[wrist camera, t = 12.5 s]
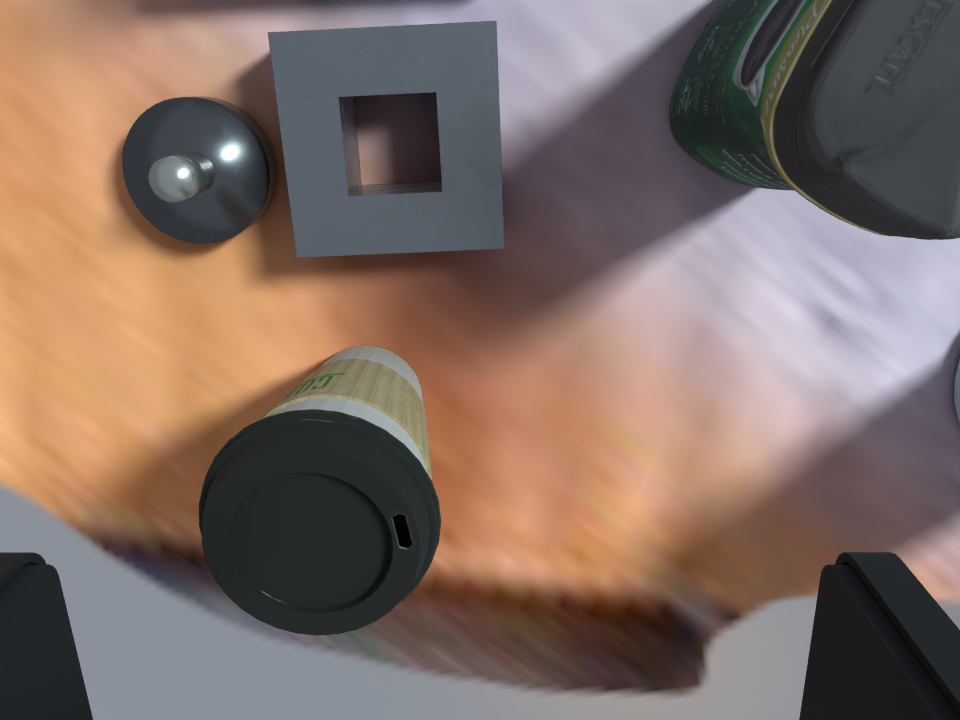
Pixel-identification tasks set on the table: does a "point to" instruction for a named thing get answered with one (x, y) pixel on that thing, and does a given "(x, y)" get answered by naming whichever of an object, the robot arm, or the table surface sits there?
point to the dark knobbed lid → (199, 168)
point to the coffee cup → (326, 499)
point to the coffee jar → (833, 107)
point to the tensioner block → (334, 148)
